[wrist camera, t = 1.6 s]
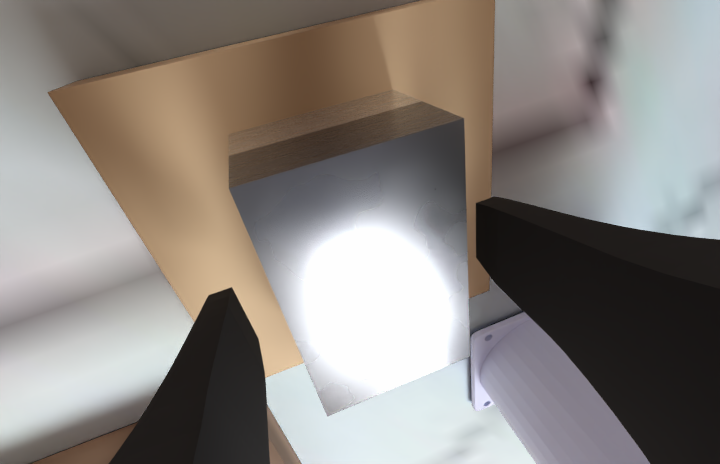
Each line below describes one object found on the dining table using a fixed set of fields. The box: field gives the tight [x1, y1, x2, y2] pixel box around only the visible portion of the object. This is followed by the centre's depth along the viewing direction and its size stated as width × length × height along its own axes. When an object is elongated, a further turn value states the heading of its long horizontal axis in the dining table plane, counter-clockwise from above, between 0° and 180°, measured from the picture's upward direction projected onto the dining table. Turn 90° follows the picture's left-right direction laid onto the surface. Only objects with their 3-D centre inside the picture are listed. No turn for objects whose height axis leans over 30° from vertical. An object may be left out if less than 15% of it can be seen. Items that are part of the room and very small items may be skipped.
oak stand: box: [48, 0, 495, 378], centre depth 13 cm, size 12×12×2 cm
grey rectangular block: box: [229, 89, 470, 416], centre depth 11 cm, size 5×8×4 cm, turn 12°
